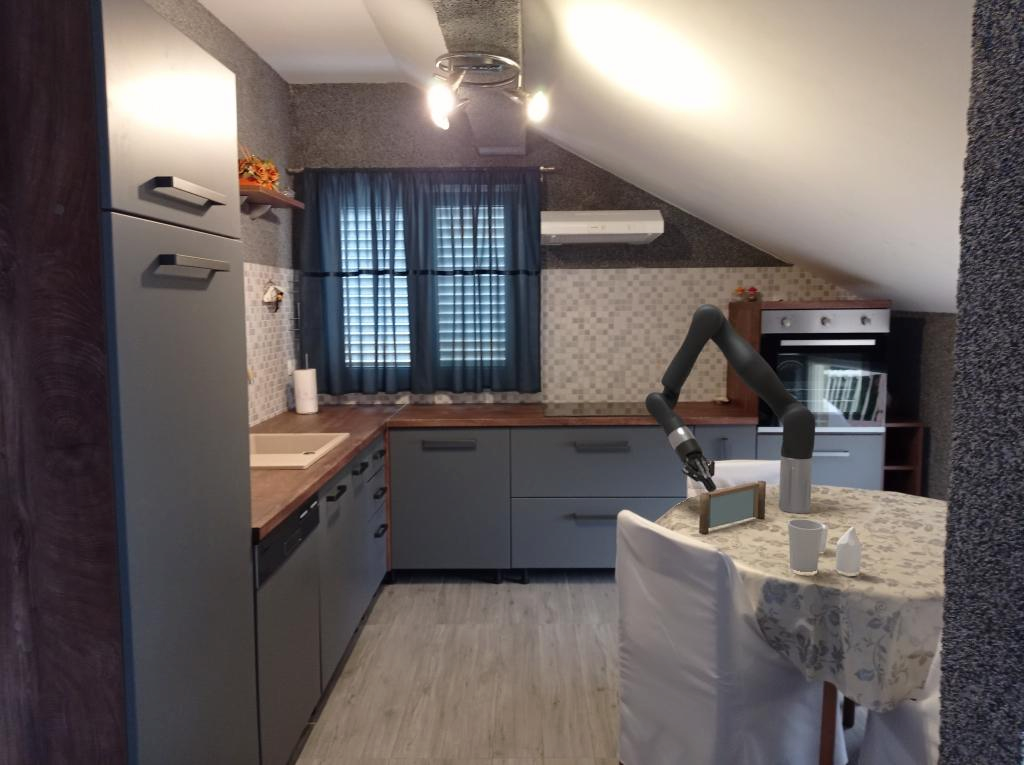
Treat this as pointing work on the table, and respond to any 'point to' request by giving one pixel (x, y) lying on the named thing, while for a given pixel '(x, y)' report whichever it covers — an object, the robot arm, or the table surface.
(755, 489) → the gate
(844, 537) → the white pointed prism
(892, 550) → the table surface
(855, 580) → the table surface
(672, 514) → the table surface
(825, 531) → the shot glass
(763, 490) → the gate posts
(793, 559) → the cup
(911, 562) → the table surface
